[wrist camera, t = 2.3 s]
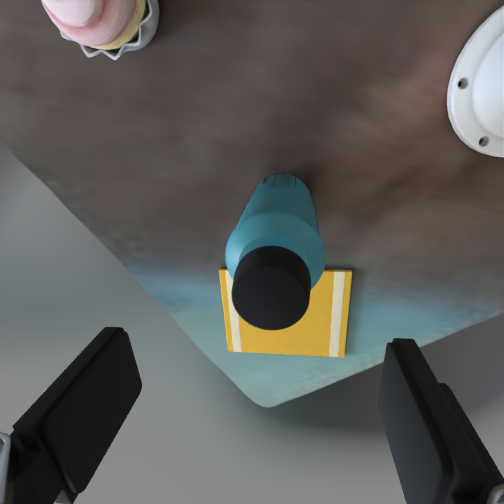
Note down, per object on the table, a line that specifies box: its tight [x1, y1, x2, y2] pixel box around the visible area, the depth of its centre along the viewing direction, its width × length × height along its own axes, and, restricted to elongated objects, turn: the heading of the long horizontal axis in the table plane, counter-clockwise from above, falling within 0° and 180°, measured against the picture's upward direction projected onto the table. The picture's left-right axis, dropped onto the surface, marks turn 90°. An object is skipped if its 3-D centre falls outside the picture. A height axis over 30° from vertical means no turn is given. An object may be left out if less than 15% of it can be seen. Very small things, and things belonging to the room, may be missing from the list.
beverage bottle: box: [226, 173, 326, 331], centre depth 23 cm, size 6×7×20 cm
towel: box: [219, 268, 352, 357], centre depth 38 cm, size 16×13×1 cm
